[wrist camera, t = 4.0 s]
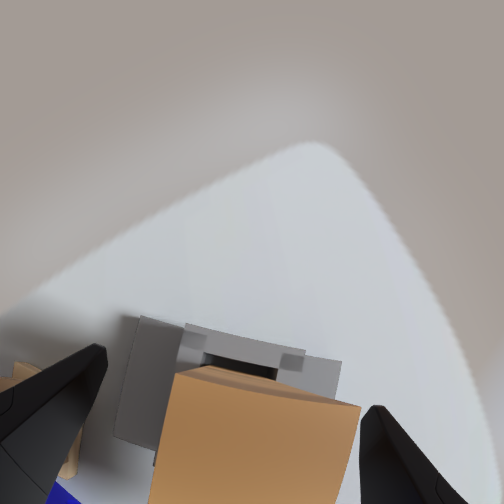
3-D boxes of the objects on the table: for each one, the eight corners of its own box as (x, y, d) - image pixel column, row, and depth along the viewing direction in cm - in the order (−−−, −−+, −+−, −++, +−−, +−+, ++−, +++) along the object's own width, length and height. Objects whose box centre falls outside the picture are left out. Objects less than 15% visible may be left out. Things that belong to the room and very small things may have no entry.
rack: (307, 471, 14) (332, 499, 10) (120, 430, 14) (91, 448, 10) (332, 361, 17) (366, 359, 13) (147, 319, 17) (123, 304, 12)
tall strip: (242, 446, 13) (290, 604, 2) (194, 436, 13) (135, 582, 2) (259, 375, 15) (360, 406, 4) (211, 364, 15) (175, 373, 4)
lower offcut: (80, 471, 13) (67, 480, 11) (21, 439, 13) (5, 443, 11) (92, 391, 15) (78, 394, 13) (31, 363, 15) (14, 361, 13)
